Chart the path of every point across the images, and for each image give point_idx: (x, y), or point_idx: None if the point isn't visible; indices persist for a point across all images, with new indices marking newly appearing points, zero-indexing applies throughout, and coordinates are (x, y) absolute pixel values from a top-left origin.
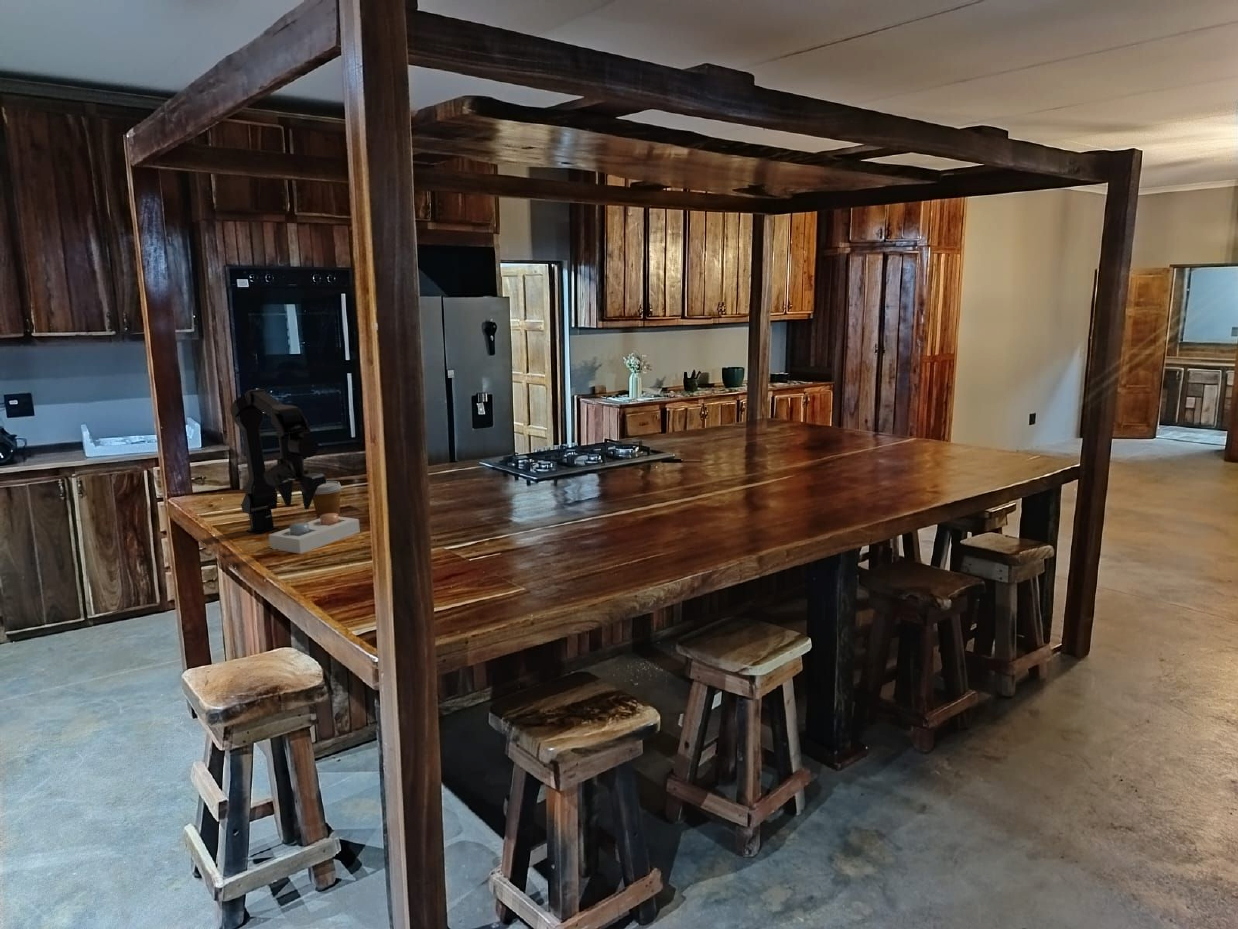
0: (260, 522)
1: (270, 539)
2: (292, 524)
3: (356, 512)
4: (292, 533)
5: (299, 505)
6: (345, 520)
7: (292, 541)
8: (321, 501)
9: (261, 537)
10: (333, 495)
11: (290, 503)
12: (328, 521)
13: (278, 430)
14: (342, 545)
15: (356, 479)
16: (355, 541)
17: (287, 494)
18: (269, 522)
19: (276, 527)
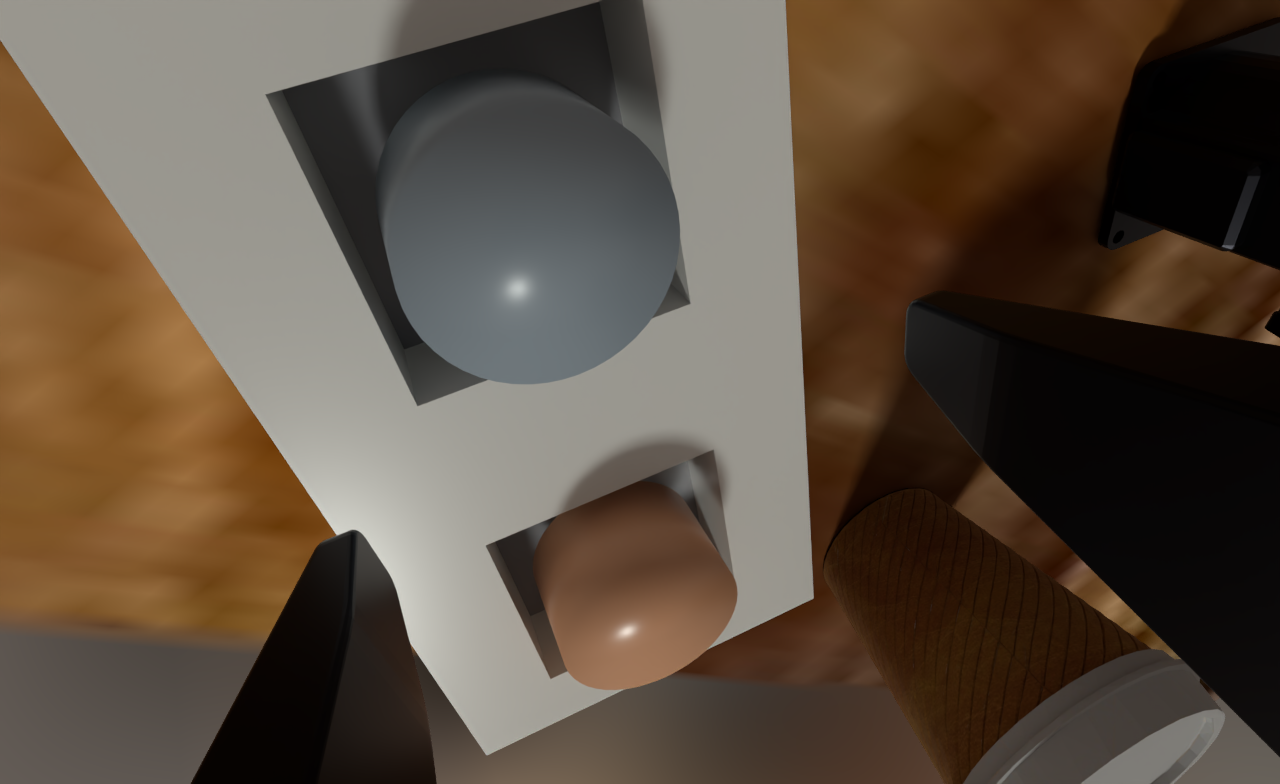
0: (1248, 119)
1: None
2: (664, 202)
3: (877, 676)
4: (479, 87)
5: None
6: (546, 676)
7: None
8: (983, 648)
9: (1071, 16)
10: (948, 757)
11: (941, 402)
12: (565, 575)
13: None
14: (117, 482)
15: None
16: (190, 596)
17: (1175, 513)
18: (1178, 191)
19: (1106, 235)
